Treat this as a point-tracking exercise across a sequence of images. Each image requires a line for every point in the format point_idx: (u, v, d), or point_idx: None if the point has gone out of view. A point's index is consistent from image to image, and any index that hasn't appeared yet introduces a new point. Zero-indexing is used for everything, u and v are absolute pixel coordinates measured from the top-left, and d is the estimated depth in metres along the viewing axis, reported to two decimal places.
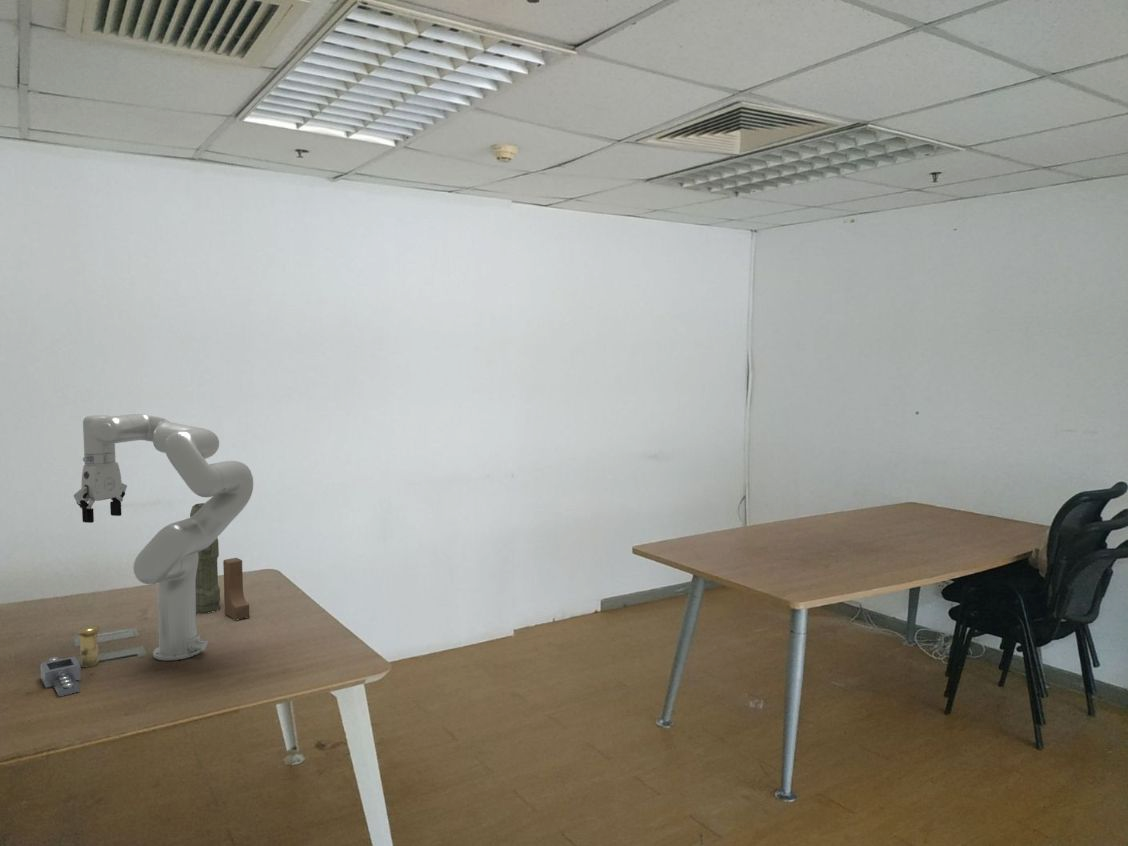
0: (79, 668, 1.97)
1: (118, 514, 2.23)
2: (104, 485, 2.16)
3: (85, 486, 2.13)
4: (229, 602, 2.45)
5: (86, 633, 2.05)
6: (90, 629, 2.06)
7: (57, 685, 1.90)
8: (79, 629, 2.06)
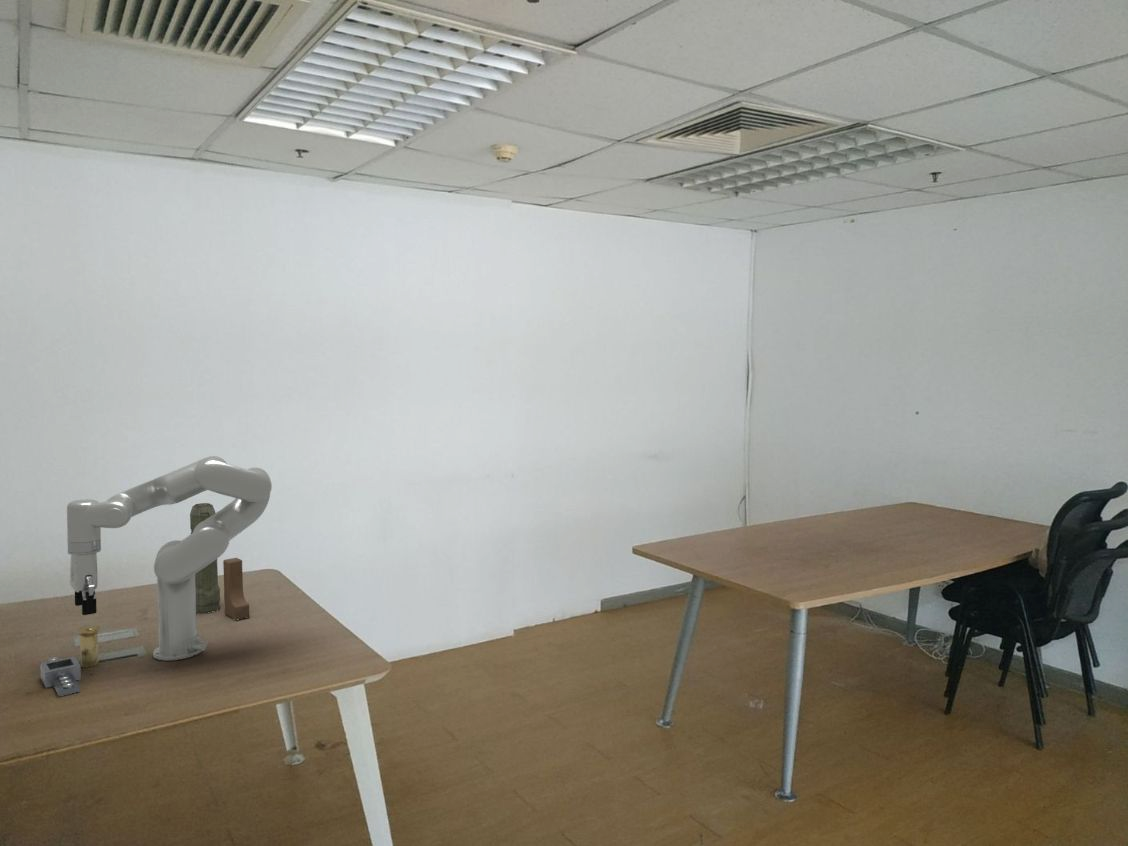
0: (79, 668, 1.97)
1: None
2: (71, 573, 2.05)
3: None
4: (229, 602, 2.45)
5: (86, 633, 2.05)
6: (90, 629, 2.06)
7: (57, 685, 1.90)
8: (79, 629, 2.06)
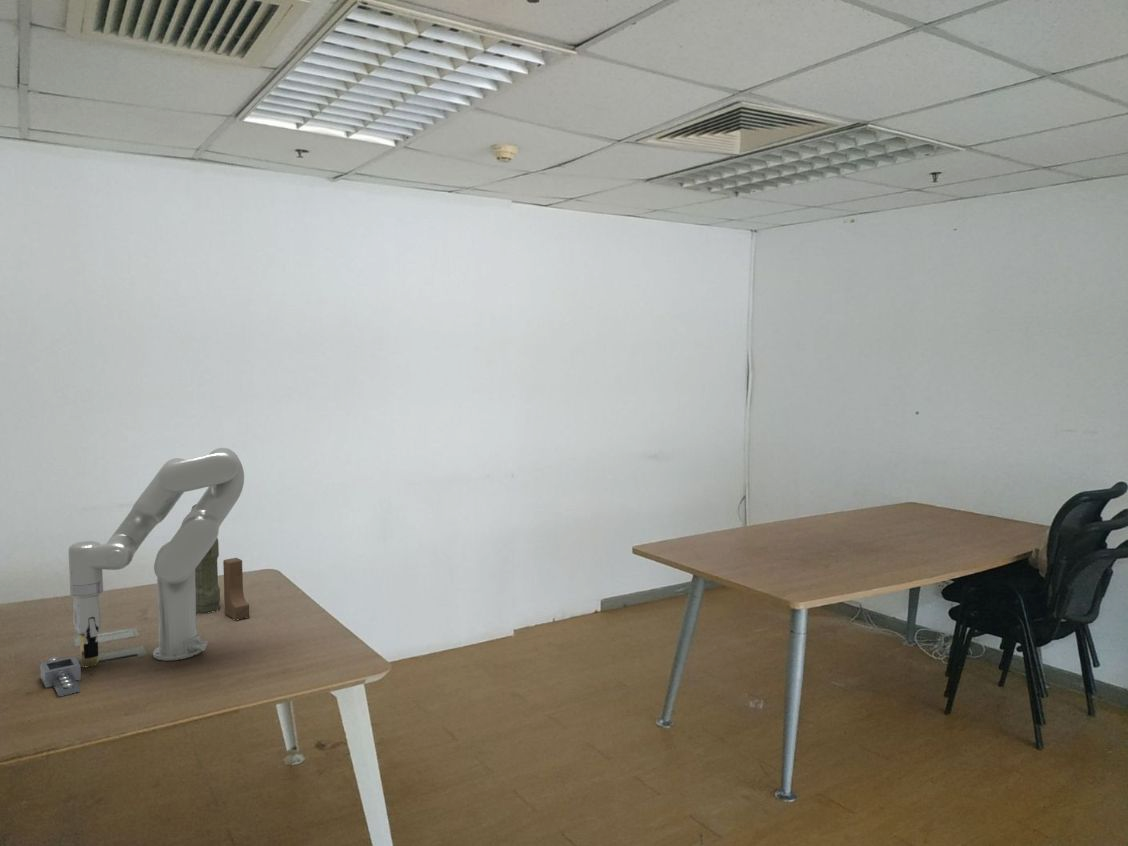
0: (79, 668, 1.97)
1: None
2: (74, 614, 2.06)
3: None
4: (229, 602, 2.45)
5: None
6: None
7: (57, 685, 1.90)
8: None
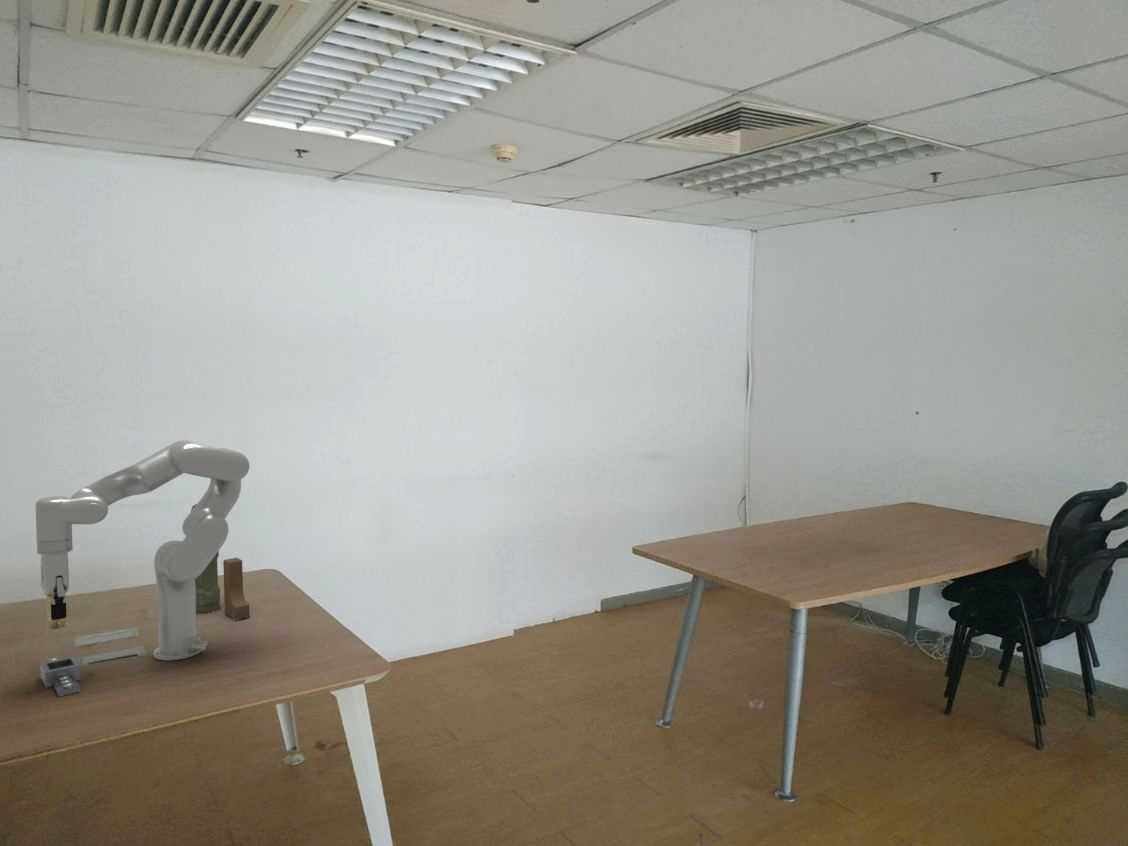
0: (79, 668, 1.97)
1: None
2: (41, 573, 1.95)
3: None
4: (229, 602, 2.45)
5: None
6: None
7: (57, 685, 1.90)
8: None
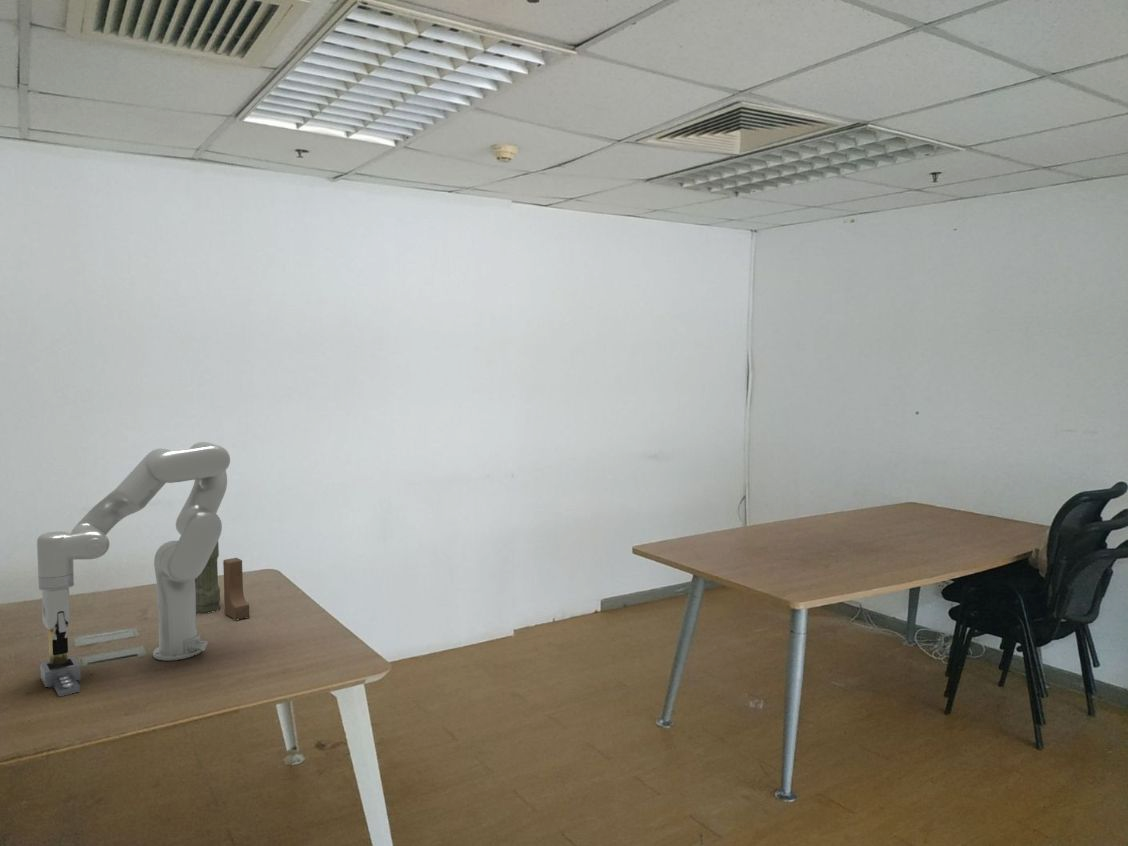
0: (79, 668, 1.97)
1: None
2: (43, 609, 1.96)
3: None
4: (229, 602, 2.45)
5: None
6: None
7: (57, 685, 1.90)
8: None
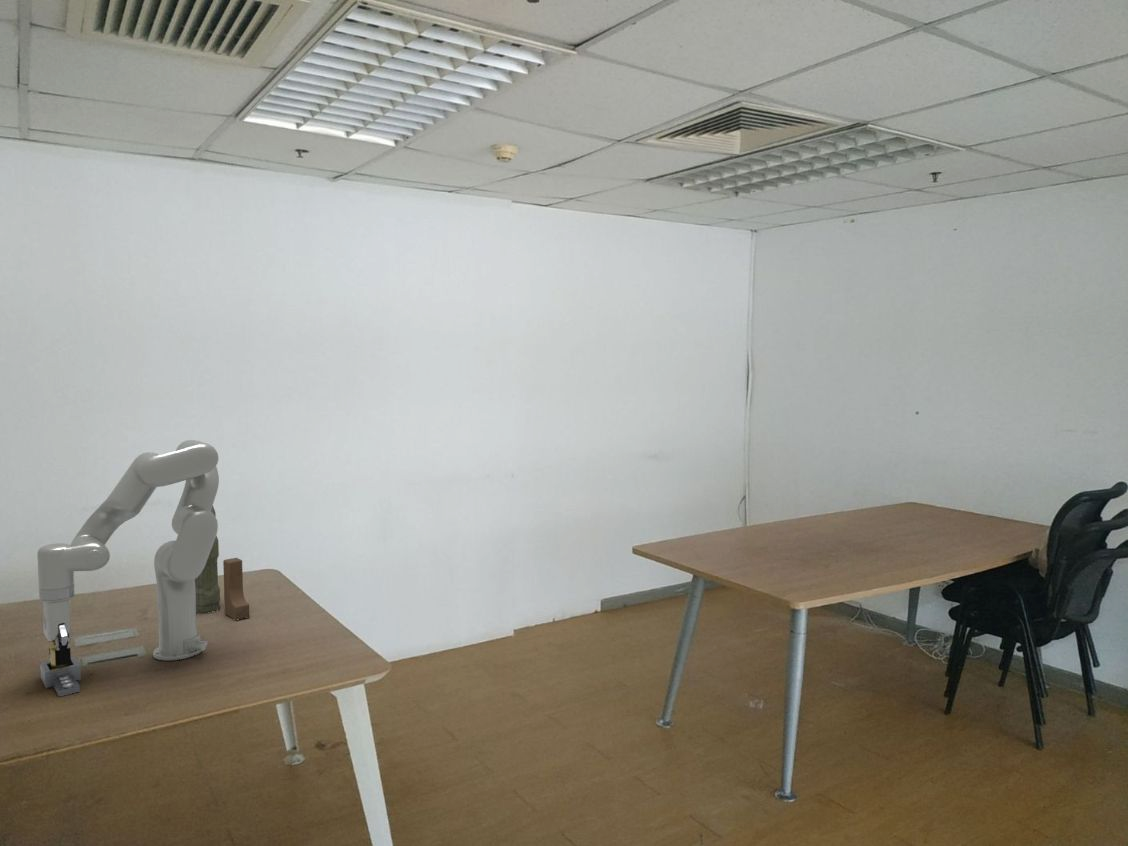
0: (79, 668, 1.97)
1: None
2: (44, 620, 1.96)
3: None
4: (229, 602, 2.45)
5: None
6: None
7: (57, 685, 1.90)
8: (49, 643, 1.96)
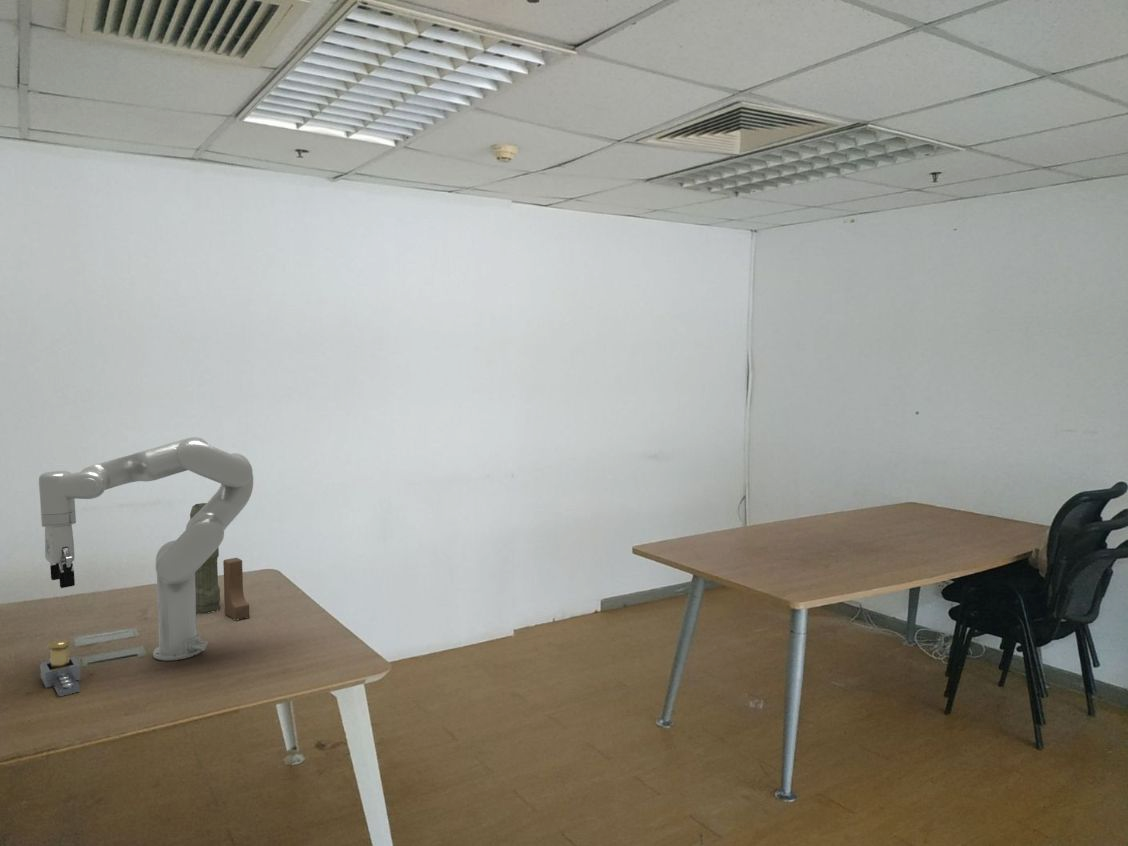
0: (79, 668, 1.97)
1: None
2: (46, 546, 2.01)
3: None
4: (229, 602, 2.45)
5: (56, 647, 1.95)
6: (61, 643, 1.96)
7: (57, 685, 1.90)
8: (49, 643, 1.96)
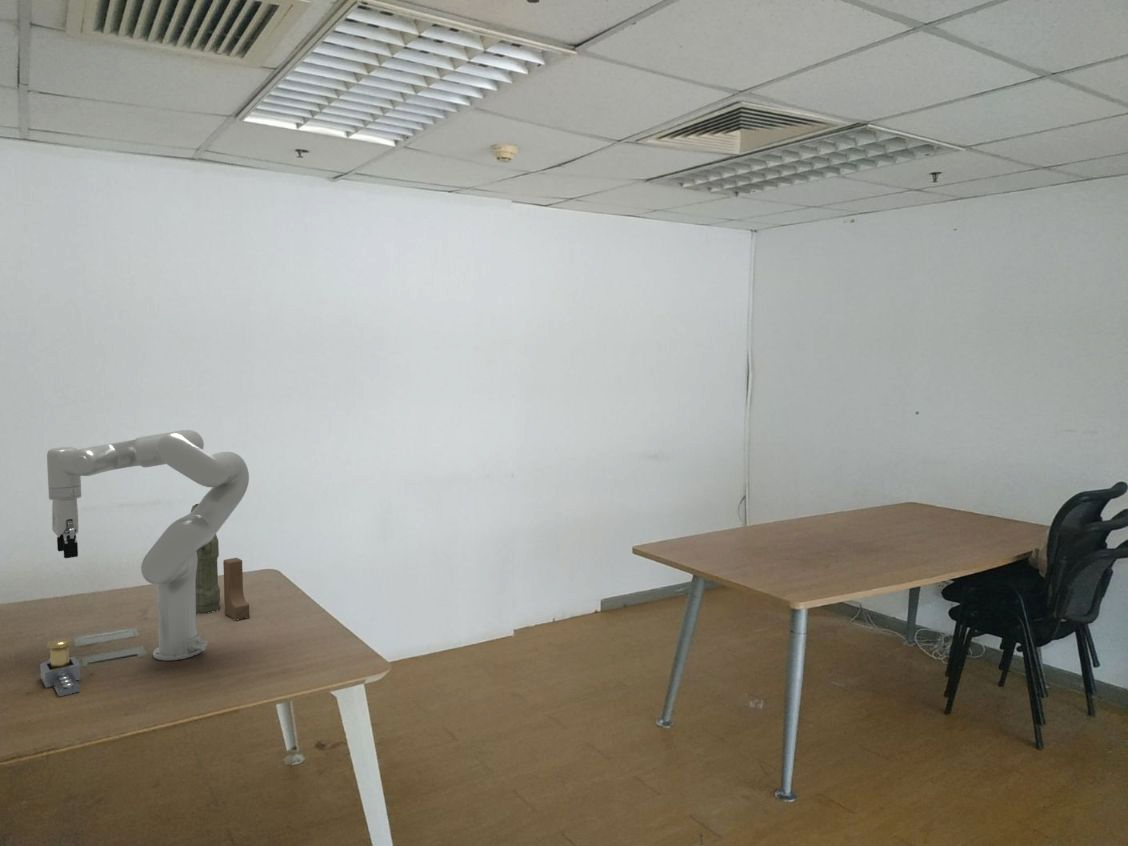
0: (79, 668, 1.97)
1: None
2: (53, 518, 2.11)
3: None
4: (229, 602, 2.45)
5: (56, 647, 1.95)
6: (61, 643, 1.96)
7: (57, 685, 1.90)
8: (49, 643, 1.96)
